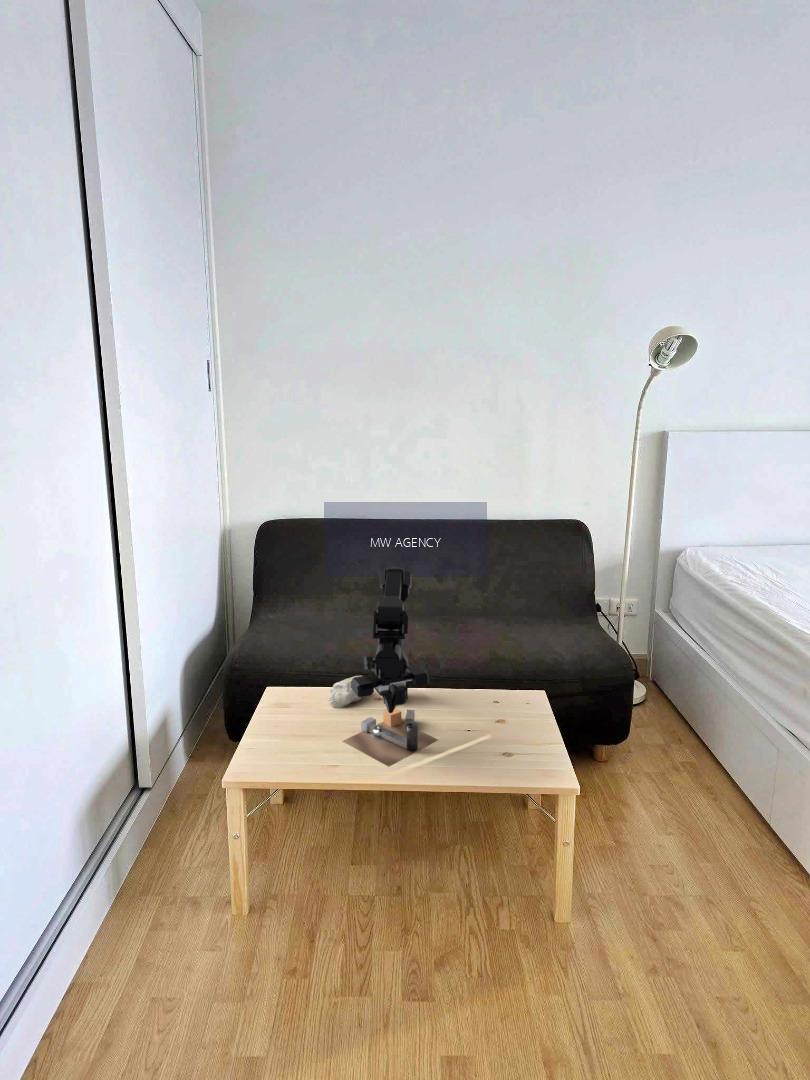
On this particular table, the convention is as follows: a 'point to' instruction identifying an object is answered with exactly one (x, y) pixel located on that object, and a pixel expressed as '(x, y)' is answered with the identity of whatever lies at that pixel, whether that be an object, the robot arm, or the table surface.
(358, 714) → the table surface
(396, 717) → the block
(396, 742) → the lever
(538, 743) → the table surface
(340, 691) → the fossil replica
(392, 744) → the press bench
